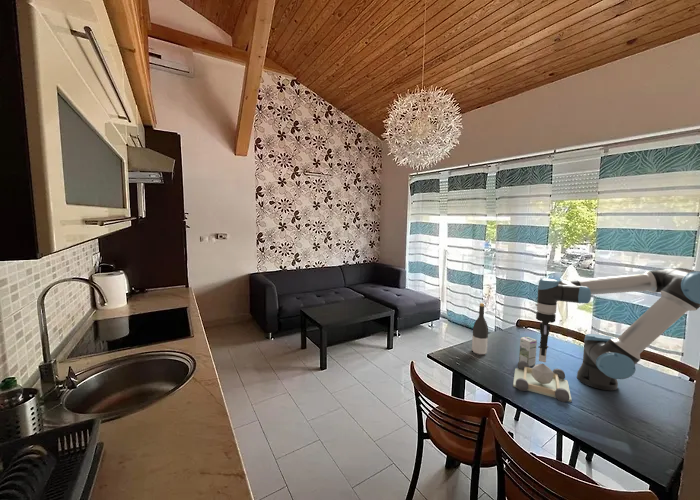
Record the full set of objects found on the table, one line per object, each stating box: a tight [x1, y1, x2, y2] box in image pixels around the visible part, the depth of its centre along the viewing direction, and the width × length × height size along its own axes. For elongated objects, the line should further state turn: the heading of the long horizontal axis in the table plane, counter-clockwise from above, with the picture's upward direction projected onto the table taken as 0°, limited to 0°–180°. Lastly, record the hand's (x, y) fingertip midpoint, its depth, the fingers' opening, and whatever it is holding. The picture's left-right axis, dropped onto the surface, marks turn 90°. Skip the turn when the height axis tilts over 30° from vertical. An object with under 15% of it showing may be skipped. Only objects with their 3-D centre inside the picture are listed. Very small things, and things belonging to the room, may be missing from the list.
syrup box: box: [518, 336, 538, 367], centre depth 161 cm, size 6×6×14 cm
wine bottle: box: [471, 302, 489, 356], centre depth 172 cm, size 8×8×30 cm
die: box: [531, 363, 554, 384], centre depth 139 cm, size 8×9×10 cm
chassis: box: [512, 361, 573, 403], centre depth 141 cm, size 22×23×5 cm
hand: (542, 361), depth 140 cm, fingers closed
